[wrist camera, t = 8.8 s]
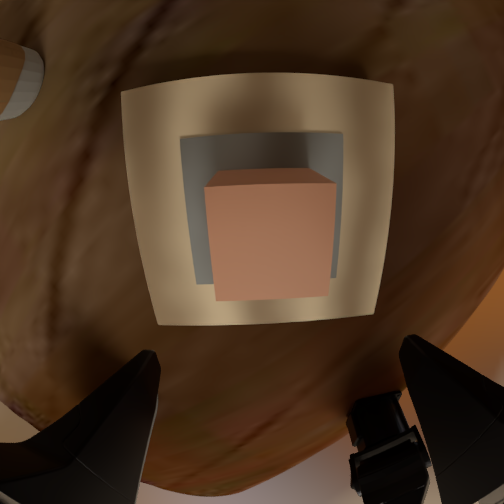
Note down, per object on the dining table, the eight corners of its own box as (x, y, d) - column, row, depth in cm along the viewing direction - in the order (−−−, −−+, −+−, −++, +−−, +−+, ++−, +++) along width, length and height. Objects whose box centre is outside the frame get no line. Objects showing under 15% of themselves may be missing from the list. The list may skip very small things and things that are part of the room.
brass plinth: (373, 90, 15) (394, 84, 12) (360, 293, 22) (374, 315, 19) (139, 97, 15) (119, 91, 12) (167, 302, 22) (157, 326, 19)
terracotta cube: (309, 168, 15) (336, 183, 10) (307, 251, 17) (328, 296, 12) (218, 170, 15) (204, 187, 10) (224, 254, 17) (216, 301, 12)
